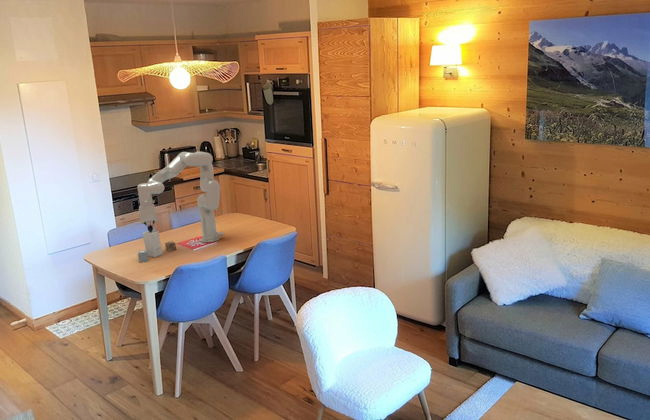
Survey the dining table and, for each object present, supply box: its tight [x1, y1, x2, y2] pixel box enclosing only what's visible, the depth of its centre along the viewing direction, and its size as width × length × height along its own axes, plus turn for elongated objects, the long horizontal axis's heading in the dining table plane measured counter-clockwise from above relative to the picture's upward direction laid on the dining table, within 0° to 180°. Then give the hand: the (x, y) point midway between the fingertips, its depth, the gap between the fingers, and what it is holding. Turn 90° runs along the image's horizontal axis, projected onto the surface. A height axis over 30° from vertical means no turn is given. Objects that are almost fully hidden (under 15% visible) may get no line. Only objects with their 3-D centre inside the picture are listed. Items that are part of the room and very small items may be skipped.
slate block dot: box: [137, 249, 149, 263], centre depth 345 cm, size 5×5×6 cm
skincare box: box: [142, 230, 163, 258], centre depth 352 cm, size 8×7×16 cm
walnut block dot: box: [164, 240, 177, 252], centre depth 362 cm, size 5×5×5 cm
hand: (150, 231), depth 350 cm, fingers closed
